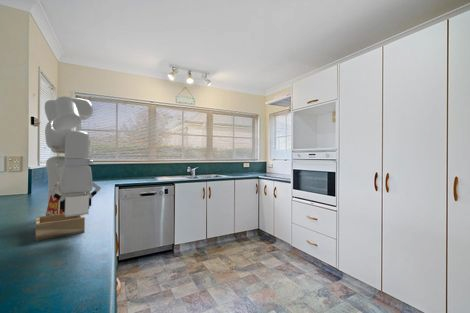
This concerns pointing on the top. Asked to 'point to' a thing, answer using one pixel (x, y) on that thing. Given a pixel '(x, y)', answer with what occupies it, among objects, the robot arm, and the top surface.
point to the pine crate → (58, 226)
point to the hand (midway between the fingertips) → (75, 209)
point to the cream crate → (76, 204)
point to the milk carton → (54, 204)
